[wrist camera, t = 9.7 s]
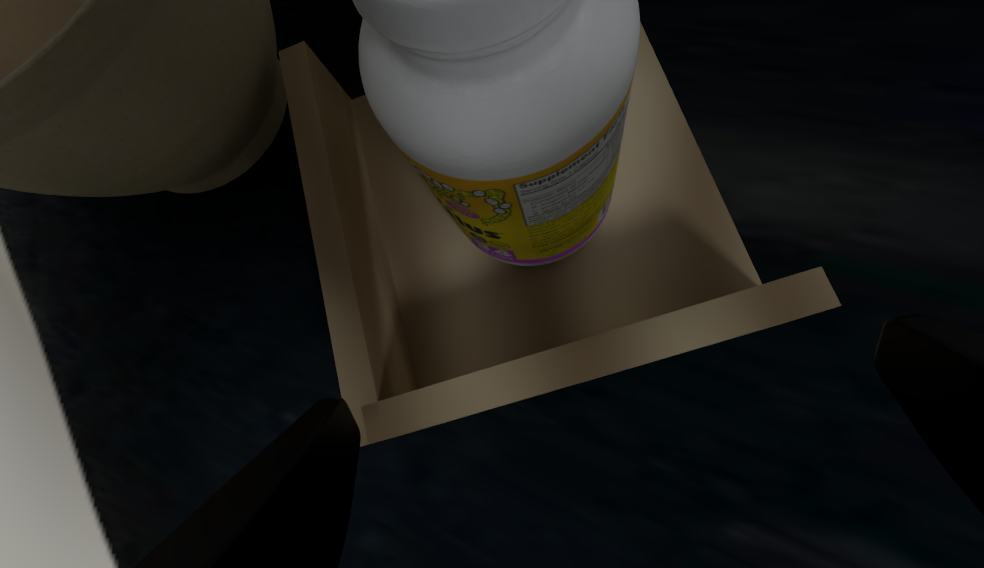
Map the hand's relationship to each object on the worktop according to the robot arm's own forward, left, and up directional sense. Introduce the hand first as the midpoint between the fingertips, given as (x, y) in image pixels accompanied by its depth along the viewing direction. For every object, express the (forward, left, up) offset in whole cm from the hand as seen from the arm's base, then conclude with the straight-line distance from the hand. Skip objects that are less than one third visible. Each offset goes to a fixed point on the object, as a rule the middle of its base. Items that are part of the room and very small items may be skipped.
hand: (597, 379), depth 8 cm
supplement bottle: (0, +8, -10) cm, 13 cm away
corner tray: (0, +8, -11) cm, 13 cm away
